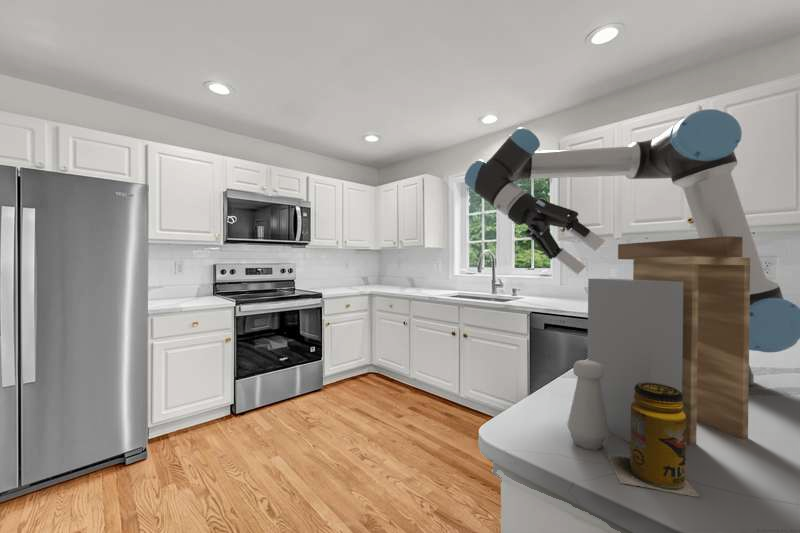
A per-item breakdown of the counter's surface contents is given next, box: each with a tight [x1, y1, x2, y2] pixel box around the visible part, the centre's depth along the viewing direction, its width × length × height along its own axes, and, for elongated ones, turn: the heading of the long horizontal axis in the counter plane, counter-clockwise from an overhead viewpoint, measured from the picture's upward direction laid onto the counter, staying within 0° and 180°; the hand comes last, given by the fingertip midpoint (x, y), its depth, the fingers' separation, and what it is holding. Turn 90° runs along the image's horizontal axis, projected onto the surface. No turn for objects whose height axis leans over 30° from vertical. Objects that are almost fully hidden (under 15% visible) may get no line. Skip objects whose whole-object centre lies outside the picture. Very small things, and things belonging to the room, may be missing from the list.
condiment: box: [606, 382, 700, 497], centre depth 48 cm, size 7×8×12 cm
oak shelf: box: [632, 256, 750, 446], centre depth 63 cm, size 12×11×30 cm
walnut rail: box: [617, 236, 743, 260], centre depth 67 cm, size 3×21×3 cm, turn 12°
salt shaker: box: [567, 359, 610, 451], centre depth 57 cm, size 6×6×13 cm
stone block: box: [586, 278, 683, 443], centre depth 61 cm, size 6×13×26 cm, turn 12°
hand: (590, 259), depth 80 cm, fingers open, 13 cm apart
